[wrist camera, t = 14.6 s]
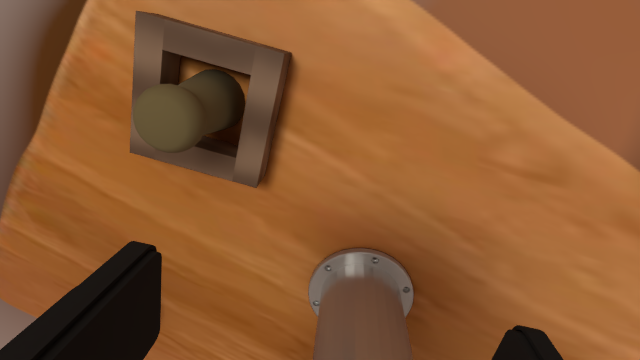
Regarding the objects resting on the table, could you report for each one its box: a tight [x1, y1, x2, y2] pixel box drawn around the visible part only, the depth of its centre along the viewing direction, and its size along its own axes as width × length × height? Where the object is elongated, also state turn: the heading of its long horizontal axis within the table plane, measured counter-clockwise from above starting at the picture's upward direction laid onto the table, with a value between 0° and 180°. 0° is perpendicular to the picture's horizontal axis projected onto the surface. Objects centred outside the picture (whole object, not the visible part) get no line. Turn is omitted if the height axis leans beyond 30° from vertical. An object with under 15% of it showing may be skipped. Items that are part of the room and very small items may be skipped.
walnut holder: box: [130, 11, 291, 188], centre depth 33 cm, size 13×13×4 cm
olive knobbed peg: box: [133, 69, 245, 153], centre depth 29 cm, size 6×6×11 cm
